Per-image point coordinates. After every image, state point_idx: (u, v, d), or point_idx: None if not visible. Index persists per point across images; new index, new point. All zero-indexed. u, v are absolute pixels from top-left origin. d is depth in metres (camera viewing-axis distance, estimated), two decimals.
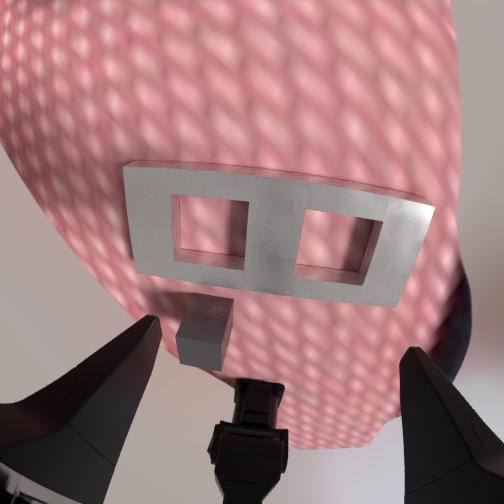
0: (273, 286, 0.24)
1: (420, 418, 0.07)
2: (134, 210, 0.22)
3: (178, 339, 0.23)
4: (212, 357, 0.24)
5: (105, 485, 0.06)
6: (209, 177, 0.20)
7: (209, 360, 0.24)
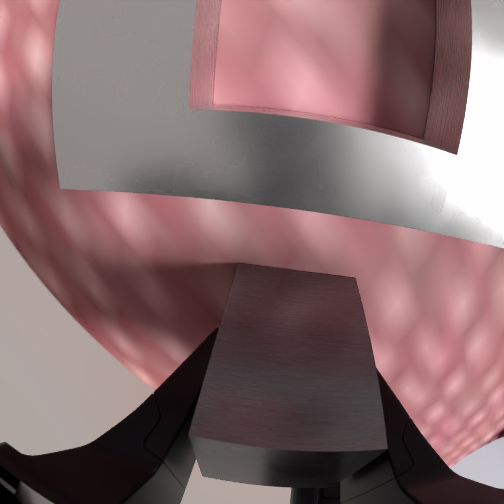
0: None
1: None
2: None
3: (202, 443, 0.05)
4: (322, 474, 0.05)
5: None
6: None
7: (309, 478, 0.06)
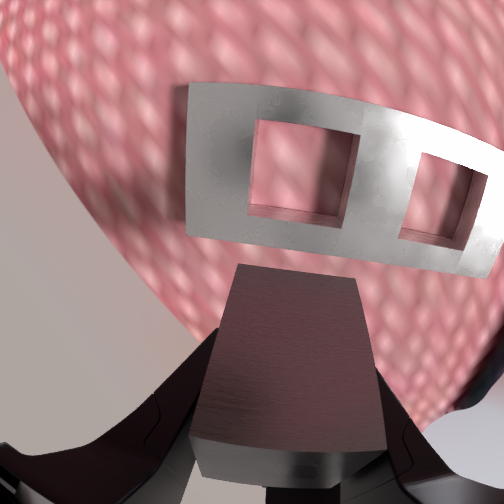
0: (373, 250, 0.18)
1: None
2: (198, 142, 0.16)
3: (201, 443, 0.05)
4: (322, 475, 0.05)
5: None
6: (313, 99, 0.14)
7: (309, 478, 0.06)
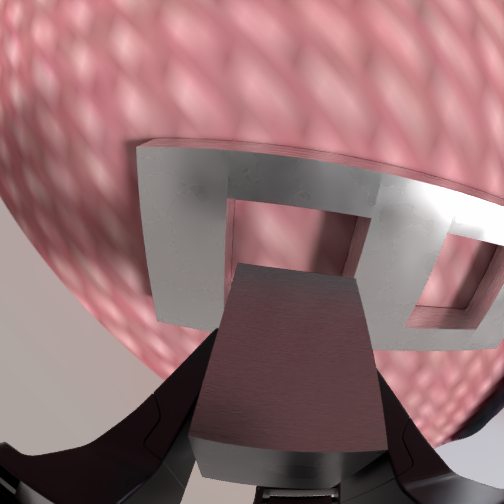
0: (374, 340, 0.15)
1: None
2: (156, 226, 0.13)
3: (201, 443, 0.05)
4: (322, 475, 0.05)
5: None
6: (308, 171, 0.11)
7: (308, 478, 0.06)
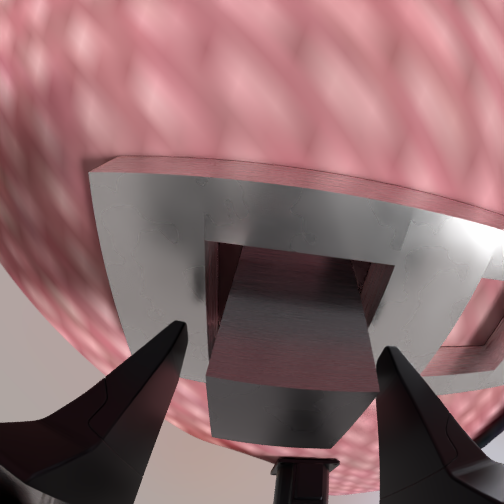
0: None
1: (394, 420, 0.07)
2: (121, 269, 0.10)
3: (216, 385, 0.06)
4: (323, 425, 0.07)
5: (133, 496, 0.06)
6: (315, 206, 0.08)
7: (310, 431, 0.07)
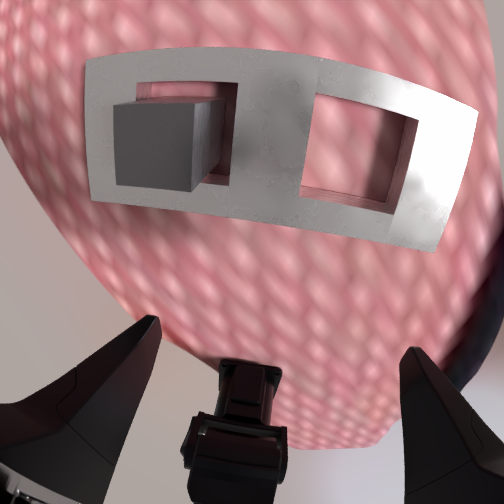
0: (270, 211, 0.17)
1: (420, 418, 0.07)
2: (93, 112, 0.15)
3: (117, 111, 0.11)
4: (174, 147, 0.12)
5: (105, 485, 0.06)
6: (187, 55, 0.12)
7: (169, 158, 0.12)
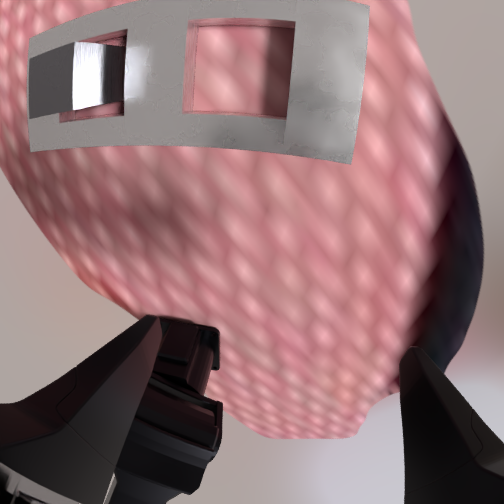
0: (159, 132, 0.16)
1: (420, 418, 0.07)
2: None
3: (31, 62, 0.10)
4: (62, 78, 0.11)
5: (105, 485, 0.06)
6: (93, 18, 0.12)
7: (59, 86, 0.11)
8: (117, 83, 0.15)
